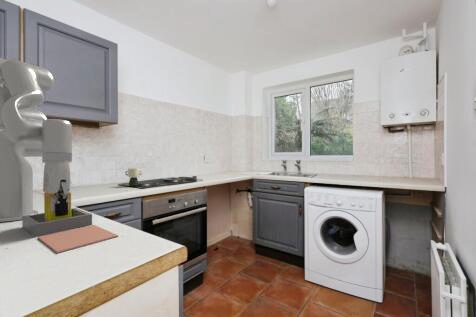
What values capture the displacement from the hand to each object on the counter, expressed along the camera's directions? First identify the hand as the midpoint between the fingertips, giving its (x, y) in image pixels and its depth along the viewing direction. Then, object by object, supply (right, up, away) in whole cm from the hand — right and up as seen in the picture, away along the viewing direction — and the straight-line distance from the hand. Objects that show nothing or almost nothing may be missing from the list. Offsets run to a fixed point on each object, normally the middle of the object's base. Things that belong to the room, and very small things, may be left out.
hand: (57, 213), depth 74 cm
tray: (0, -4, 0) cm, 4 cm away
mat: (+14, -4, -10) cm, 17 cm away
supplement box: (0, -4, 0) cm, 4 cm away
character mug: (-18, -3, +93) cm, 94 cm away
